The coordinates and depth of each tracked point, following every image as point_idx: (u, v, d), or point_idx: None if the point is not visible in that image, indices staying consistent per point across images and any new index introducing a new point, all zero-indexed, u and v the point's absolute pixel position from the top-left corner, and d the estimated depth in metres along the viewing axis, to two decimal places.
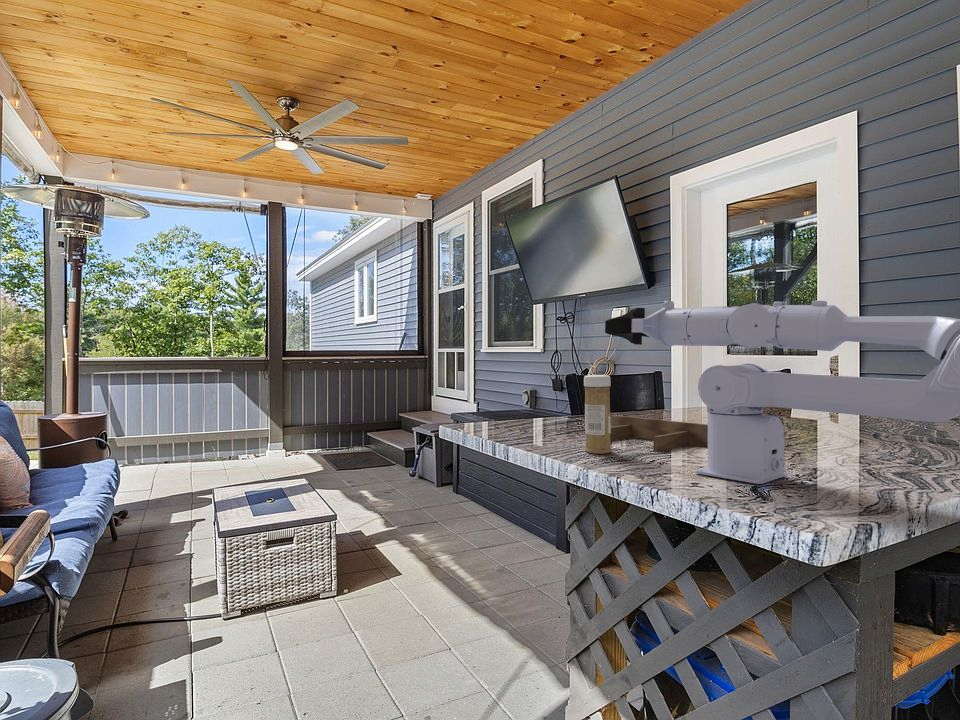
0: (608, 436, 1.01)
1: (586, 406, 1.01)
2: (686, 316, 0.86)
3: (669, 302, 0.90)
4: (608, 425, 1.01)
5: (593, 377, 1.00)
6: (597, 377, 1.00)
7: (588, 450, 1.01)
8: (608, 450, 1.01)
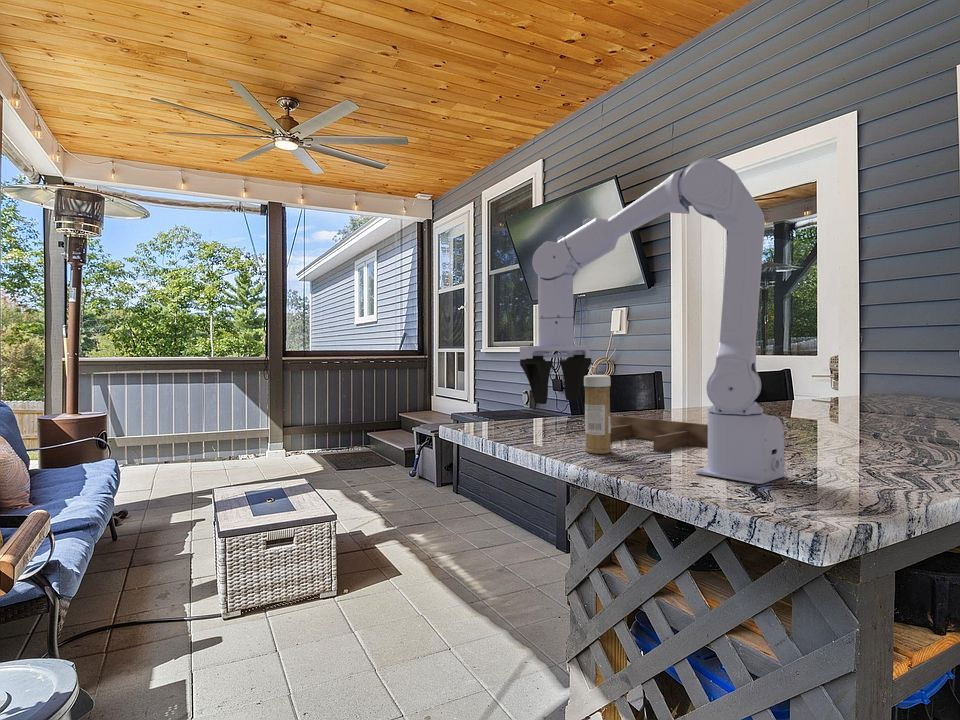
0: (608, 436, 1.01)
1: (586, 406, 1.01)
2: (539, 320, 0.95)
3: None
4: (608, 425, 1.01)
5: (593, 377, 1.00)
6: (597, 377, 1.00)
7: (588, 450, 1.01)
8: (608, 450, 1.01)
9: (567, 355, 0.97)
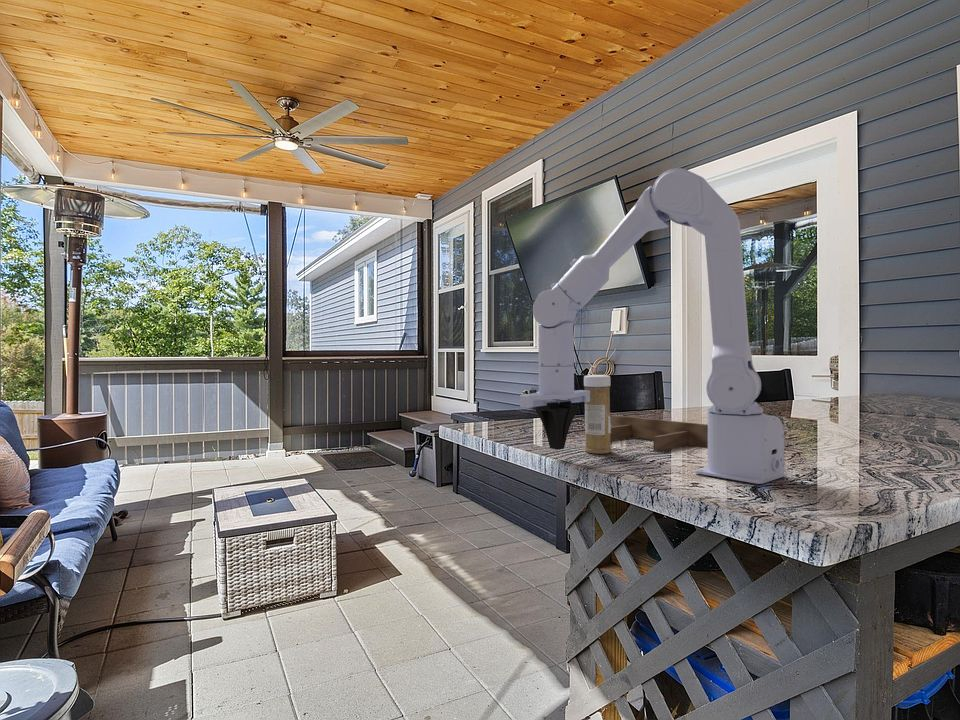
0: (608, 436, 1.01)
1: (586, 406, 1.01)
2: (539, 367, 0.95)
3: None
4: (608, 425, 1.01)
5: (593, 377, 1.00)
6: (597, 377, 1.00)
7: (588, 450, 1.01)
8: (608, 450, 1.01)
9: None
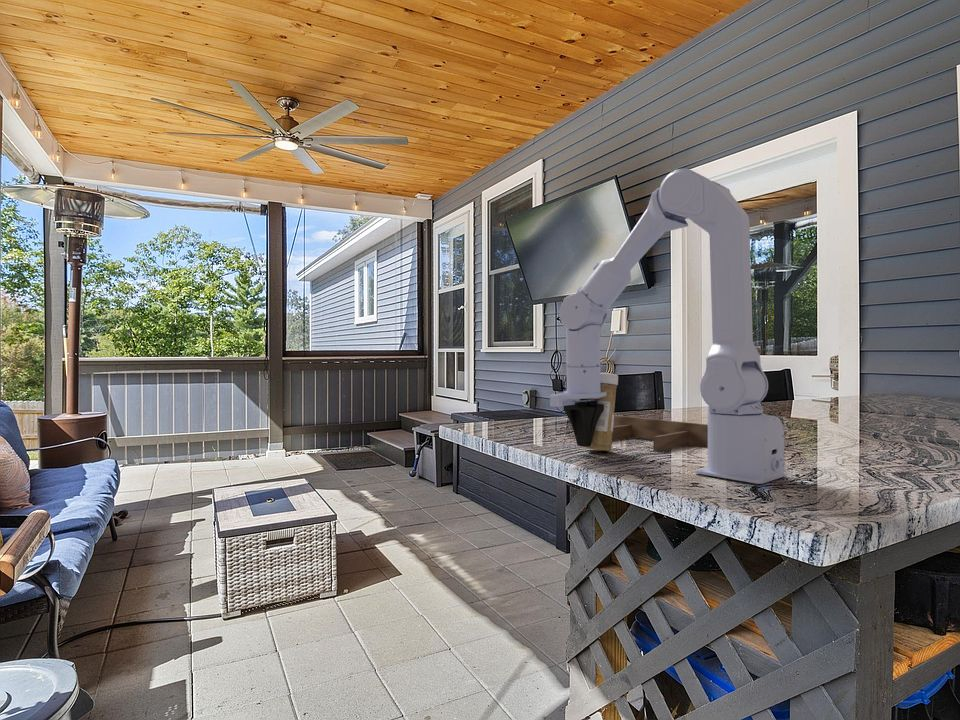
0: (610, 434, 1.01)
1: None
2: (567, 368, 1.00)
3: (565, 391, 1.03)
4: (611, 423, 1.01)
5: (601, 373, 1.02)
6: (605, 374, 1.01)
7: (589, 446, 1.01)
8: (608, 448, 1.01)
9: (594, 400, 1.01)
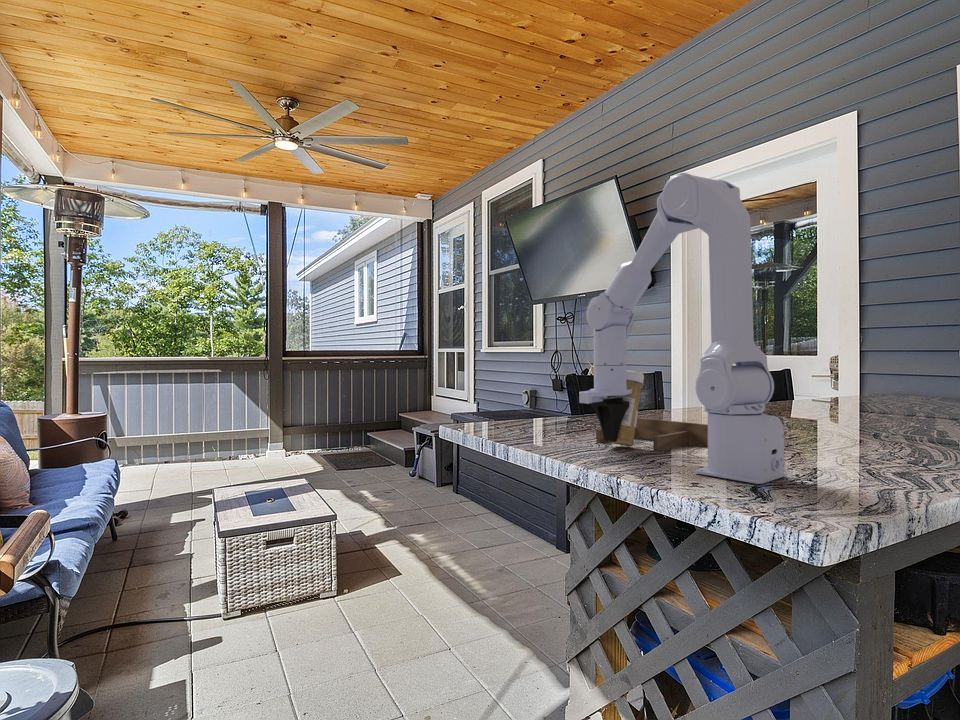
0: (633, 429, 1.05)
1: None
2: (595, 366, 1.04)
3: None
4: (635, 419, 1.05)
5: (628, 371, 1.07)
6: (632, 371, 1.06)
7: None
8: (631, 442, 1.05)
9: (620, 398, 1.06)
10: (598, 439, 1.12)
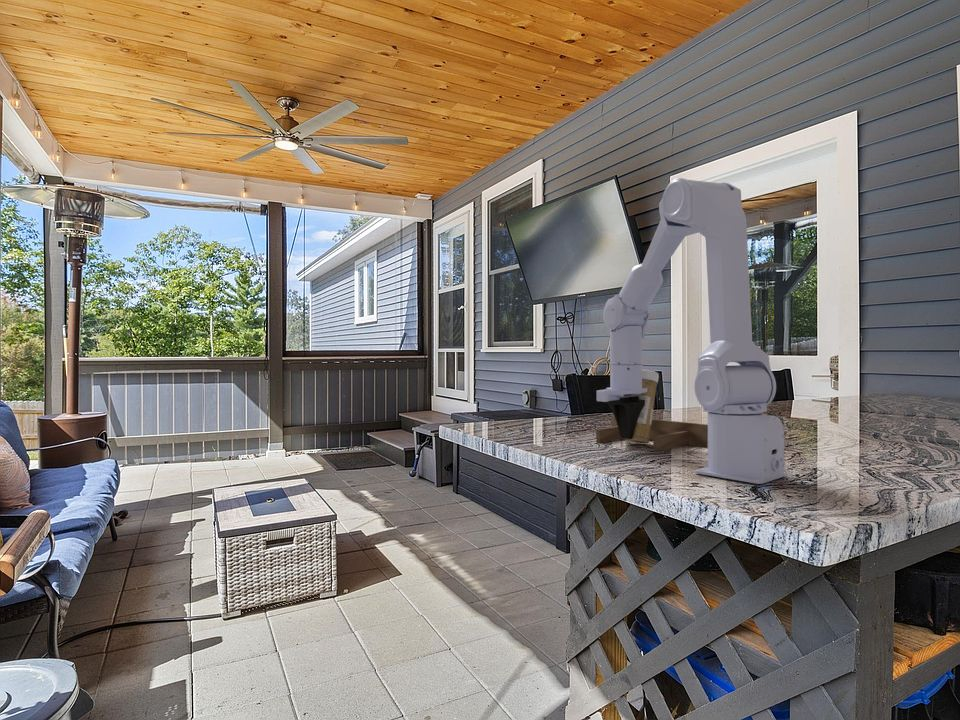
0: (648, 427, 1.08)
1: None
2: (611, 366, 1.07)
3: None
4: (650, 417, 1.08)
5: (643, 370, 1.09)
6: (647, 371, 1.09)
7: None
8: (646, 439, 1.07)
9: None
10: (598, 439, 1.12)
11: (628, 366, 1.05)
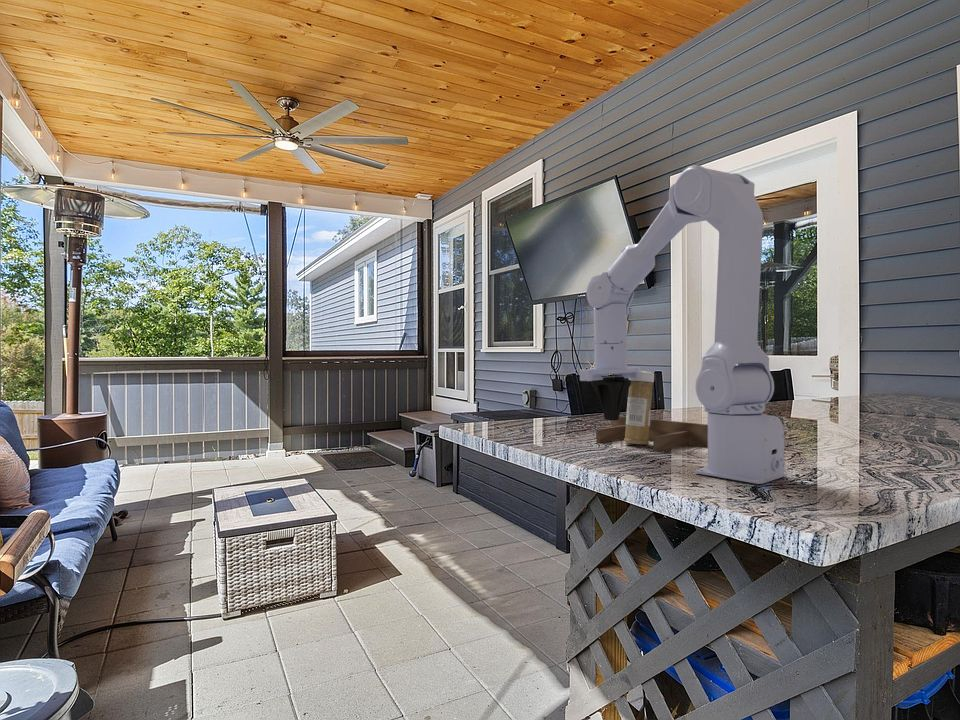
0: (647, 428, 1.08)
1: (629, 399, 1.09)
2: (595, 345, 1.04)
3: (593, 368, 1.07)
4: (648, 418, 1.08)
5: (638, 372, 1.08)
6: (642, 372, 1.08)
7: (627, 440, 1.08)
8: (646, 441, 1.07)
9: (620, 377, 1.06)
10: (598, 439, 1.12)
11: (612, 345, 1.02)
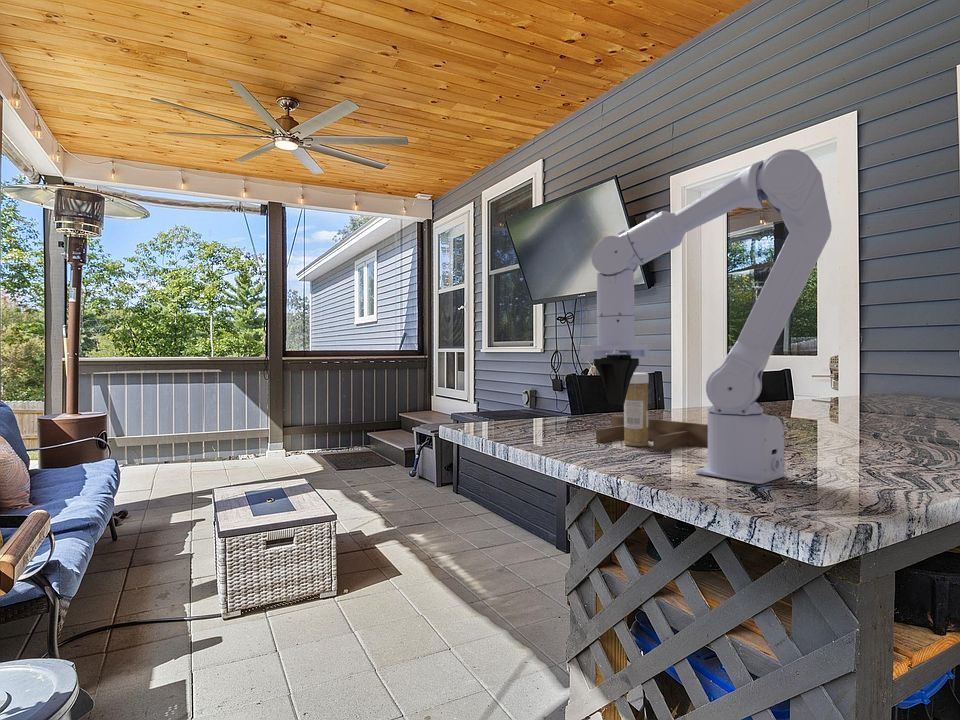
0: (646, 430, 1.07)
1: (625, 402, 1.08)
2: (598, 318, 0.91)
3: None
4: (646, 419, 1.07)
5: None
6: (636, 374, 1.07)
7: (627, 443, 1.08)
8: (646, 443, 1.07)
9: (627, 355, 0.93)
10: (598, 439, 1.12)
11: (618, 317, 0.88)
